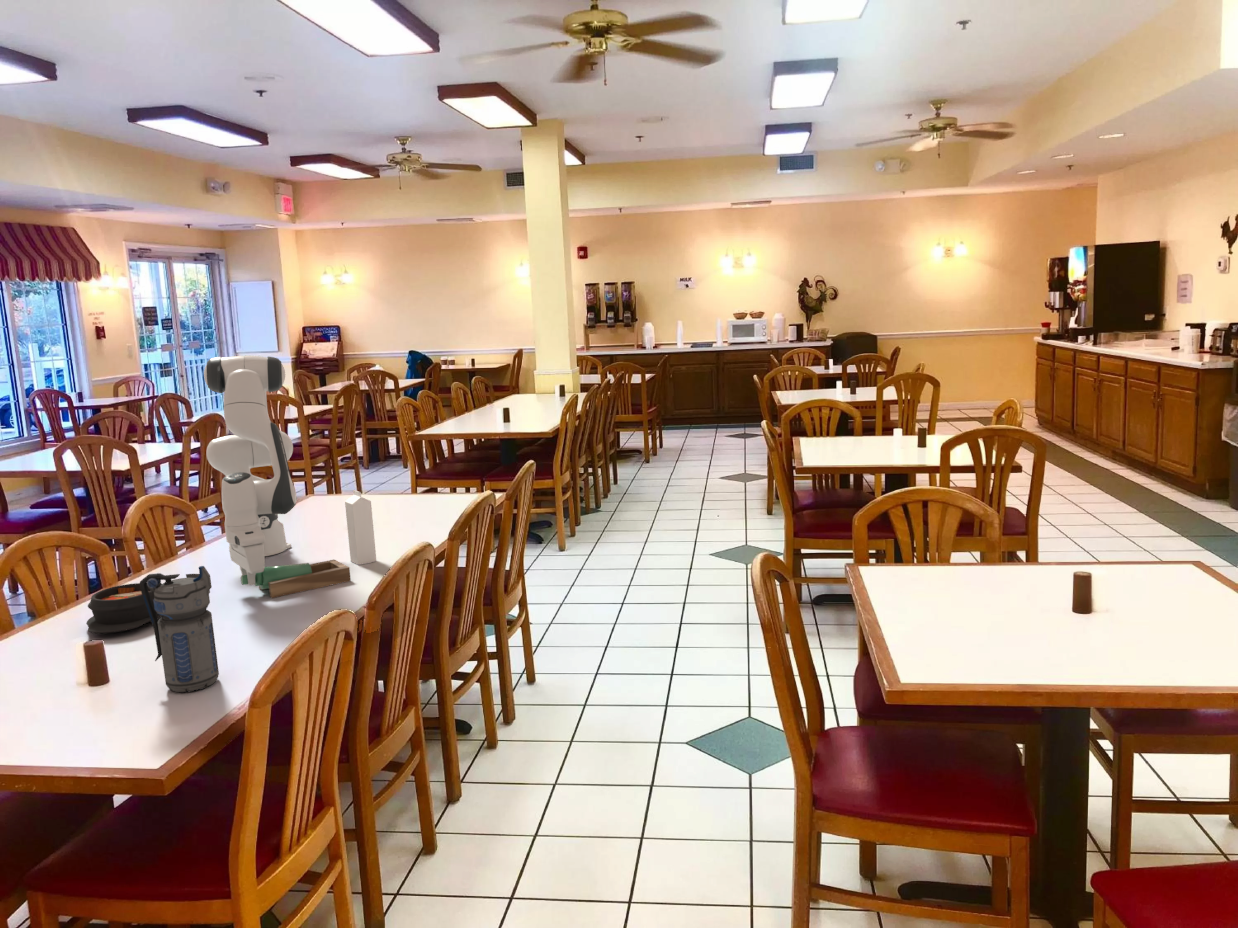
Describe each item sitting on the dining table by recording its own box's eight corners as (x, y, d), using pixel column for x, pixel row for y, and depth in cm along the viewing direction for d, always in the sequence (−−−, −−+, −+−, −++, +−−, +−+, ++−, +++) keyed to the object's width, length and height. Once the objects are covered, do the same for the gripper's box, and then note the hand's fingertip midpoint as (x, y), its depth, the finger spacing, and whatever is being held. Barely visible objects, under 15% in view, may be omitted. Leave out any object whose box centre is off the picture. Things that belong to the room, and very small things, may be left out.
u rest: (259, 588, 262) (257, 574, 262) (335, 572, 275) (334, 559, 275) (272, 598, 253) (270, 583, 252) (350, 580, 266) (349, 567, 265)
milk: (358, 565, 282) (350, 494, 278) (350, 561, 287) (343, 491, 283) (377, 561, 286) (370, 490, 282) (369, 557, 291) (362, 488, 287)
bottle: (304, 581, 267) (239, 588, 256) (304, 561, 266) (239, 566, 255) (311, 586, 262) (245, 593, 251) (312, 565, 262) (245, 571, 251)
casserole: (109, 610, 249) (104, 580, 247) (182, 604, 251) (178, 574, 250) (69, 643, 224) (64, 610, 223) (151, 636, 227) (146, 602, 225)
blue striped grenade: (162, 679, 198) (147, 565, 194) (228, 672, 200) (214, 559, 196) (147, 698, 188) (130, 579, 184) (216, 691, 191) (201, 572, 186)
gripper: (221, 529, 259) (227, 577, 261) (241, 541, 242) (248, 593, 245) (244, 525, 262) (250, 572, 265) (266, 537, 246) (272, 587, 248)
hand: (249, 582), depth 255 cm, fingers closed on bottle, 3 cm apart
